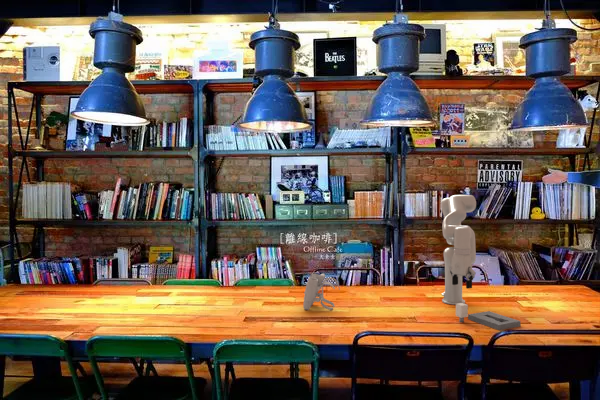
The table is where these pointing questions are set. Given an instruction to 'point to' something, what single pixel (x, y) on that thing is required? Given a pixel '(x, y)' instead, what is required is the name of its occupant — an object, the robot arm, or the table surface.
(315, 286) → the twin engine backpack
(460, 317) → the peg
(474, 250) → the robot arm
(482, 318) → the keyhole plate
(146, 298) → the table surface
